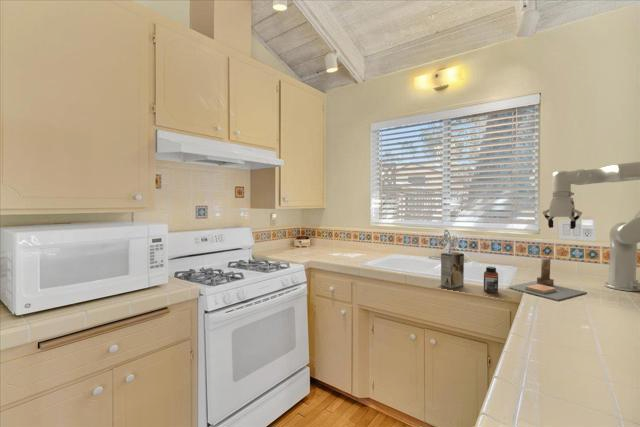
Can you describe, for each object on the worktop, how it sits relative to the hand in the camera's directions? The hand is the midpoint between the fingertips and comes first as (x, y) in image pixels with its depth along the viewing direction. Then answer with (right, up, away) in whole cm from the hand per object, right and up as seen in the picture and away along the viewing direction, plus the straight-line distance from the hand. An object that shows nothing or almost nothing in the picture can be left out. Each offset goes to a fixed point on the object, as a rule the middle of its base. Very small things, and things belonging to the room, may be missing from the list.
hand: (561, 228), depth 167 cm
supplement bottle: (-46, -29, -18) cm, 57 cm away
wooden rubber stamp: (-14, -28, -8) cm, 32 cm away
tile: (-23, -27, -18) cm, 40 cm away
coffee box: (-60, -28, -8) cm, 67 cm away
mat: (-20, -29, -16) cm, 38 cm away
